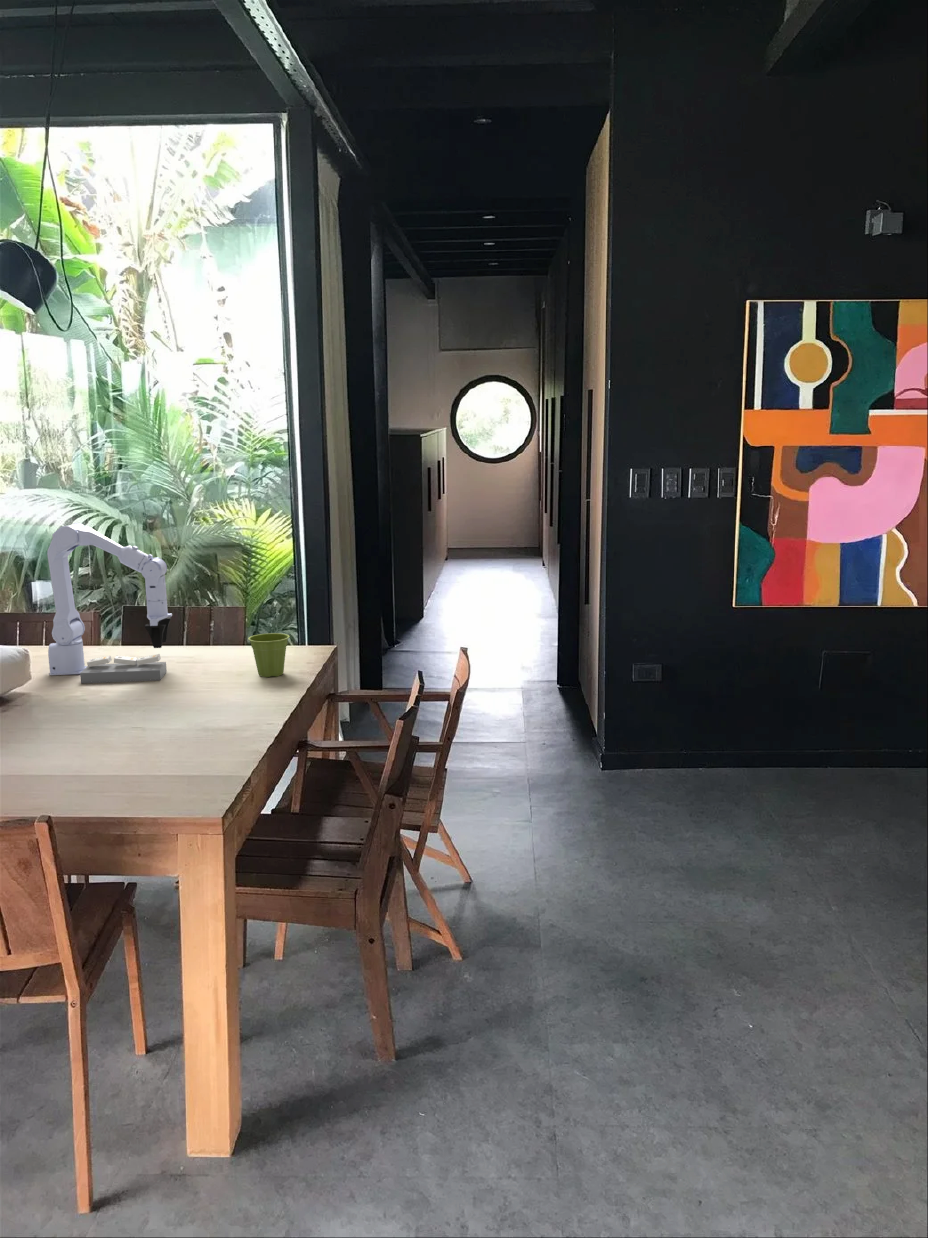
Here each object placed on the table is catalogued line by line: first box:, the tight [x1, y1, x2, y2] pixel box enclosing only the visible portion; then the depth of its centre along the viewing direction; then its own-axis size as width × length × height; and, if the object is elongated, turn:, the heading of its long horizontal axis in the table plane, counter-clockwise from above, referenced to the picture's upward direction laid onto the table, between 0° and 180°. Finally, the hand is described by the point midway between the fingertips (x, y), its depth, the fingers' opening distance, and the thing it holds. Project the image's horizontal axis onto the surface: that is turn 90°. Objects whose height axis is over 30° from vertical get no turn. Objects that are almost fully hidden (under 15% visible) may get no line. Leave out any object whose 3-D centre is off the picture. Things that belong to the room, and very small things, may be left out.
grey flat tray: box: [79, 661, 168, 684], centre depth 282 cm, size 22×10×3 cm, turn 97°
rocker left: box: [86, 655, 112, 667], centre depth 283 cm, size 6×4×2 cm, turn 97°
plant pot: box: [248, 632, 291, 678], centre depth 284 cm, size 12×12×11 cm
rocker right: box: [137, 653, 161, 665], centre depth 284 cm, size 6×4×2 cm, turn 97°
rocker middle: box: [113, 655, 139, 665], centre depth 284 cm, size 6×4×2 cm, turn 98°
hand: (160, 644), depth 287 cm, fingers open, 7 cm apart
